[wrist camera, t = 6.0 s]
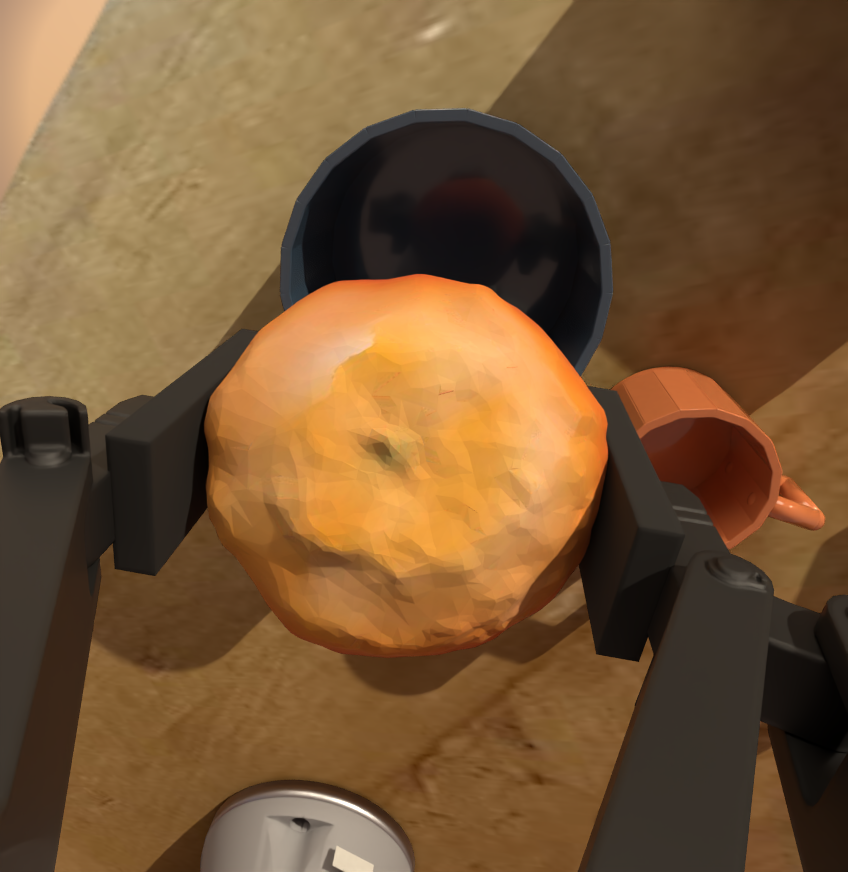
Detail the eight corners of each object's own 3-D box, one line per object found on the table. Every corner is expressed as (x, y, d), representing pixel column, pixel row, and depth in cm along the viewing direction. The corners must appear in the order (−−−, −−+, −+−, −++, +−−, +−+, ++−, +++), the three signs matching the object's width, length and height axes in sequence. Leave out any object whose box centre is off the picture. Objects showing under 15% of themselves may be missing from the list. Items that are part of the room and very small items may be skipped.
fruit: (258, 598, 19) (117, 667, 11) (297, 327, 19) (195, 204, 12) (543, 636, 18) (617, 737, 10) (572, 358, 19) (661, 253, 11)
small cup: (564, 472, 34) (576, 529, 29) (624, 345, 31) (649, 385, 26) (746, 533, 35) (789, 599, 30) (822, 414, 32) (884, 465, 27)
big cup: (466, 48, 27) (457, 18, 20) (638, 271, 30) (681, 311, 23) (225, 296, 32) (153, 339, 25) (392, 465, 35) (368, 544, 28)
